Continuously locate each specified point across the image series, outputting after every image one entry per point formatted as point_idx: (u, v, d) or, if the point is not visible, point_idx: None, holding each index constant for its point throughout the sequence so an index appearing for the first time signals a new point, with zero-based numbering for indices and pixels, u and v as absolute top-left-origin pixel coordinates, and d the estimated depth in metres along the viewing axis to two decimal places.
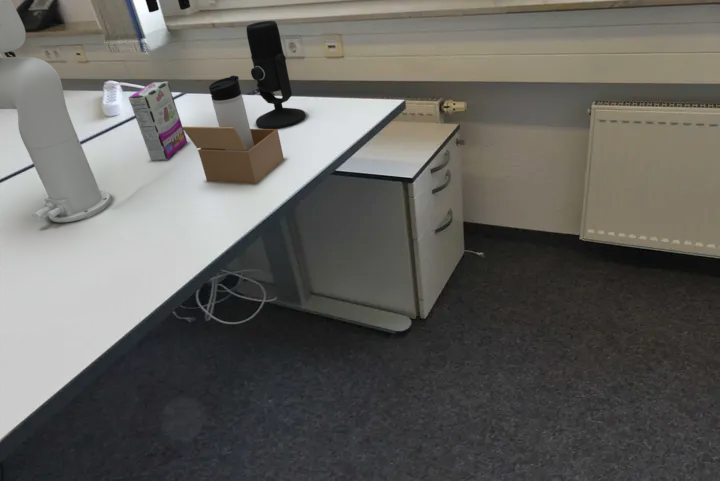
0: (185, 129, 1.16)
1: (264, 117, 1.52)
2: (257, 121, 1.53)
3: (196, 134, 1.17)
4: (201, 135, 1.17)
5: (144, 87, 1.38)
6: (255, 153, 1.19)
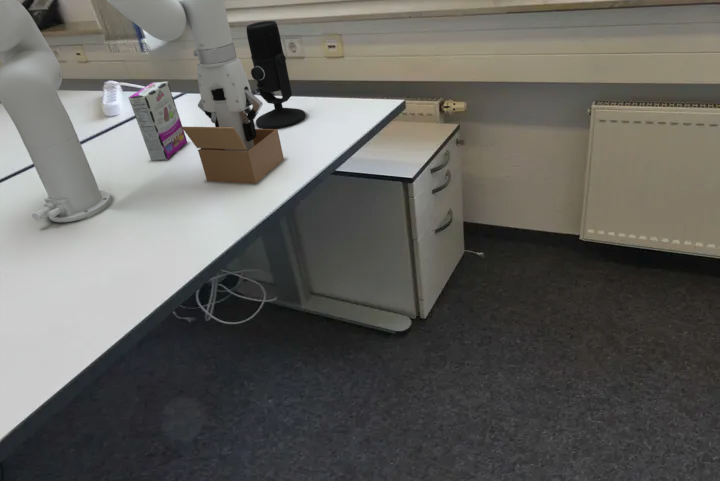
0: (185, 129, 1.16)
1: (264, 117, 1.52)
2: (257, 121, 1.53)
3: (196, 134, 1.17)
4: (201, 135, 1.17)
5: (144, 87, 1.38)
6: (255, 153, 1.19)
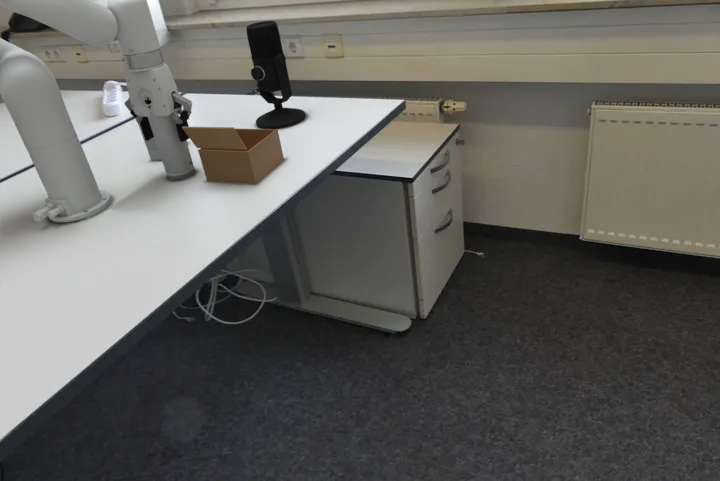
0: (185, 129, 1.16)
1: (264, 117, 1.52)
2: (257, 121, 1.53)
3: (196, 134, 1.17)
4: (201, 135, 1.17)
5: None
6: (255, 153, 1.19)
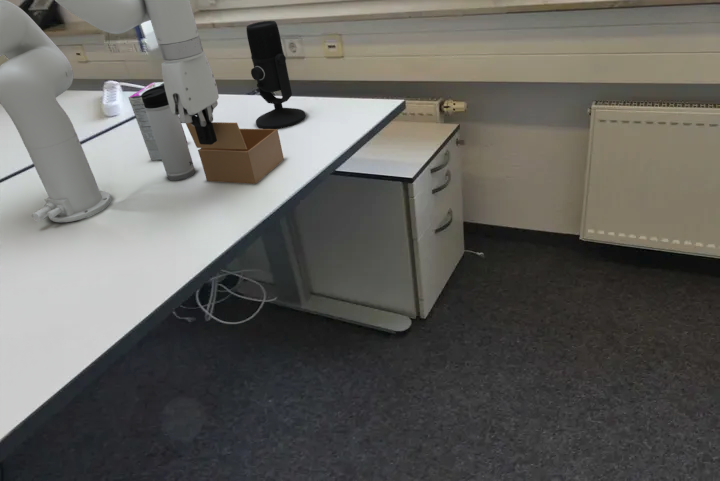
0: (188, 125, 1.17)
1: (264, 117, 1.52)
2: (257, 121, 1.53)
3: None
4: None
5: (144, 87, 1.38)
6: (255, 153, 1.19)
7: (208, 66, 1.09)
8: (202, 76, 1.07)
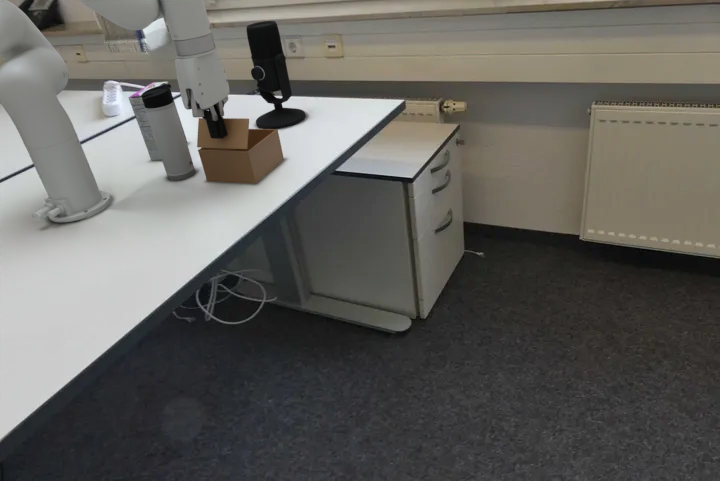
0: (200, 120, 1.20)
1: (264, 117, 1.52)
2: (257, 121, 1.53)
3: (207, 127, 1.20)
4: None
5: (144, 87, 1.38)
6: (255, 153, 1.19)
7: (220, 62, 1.12)
8: (214, 72, 1.10)
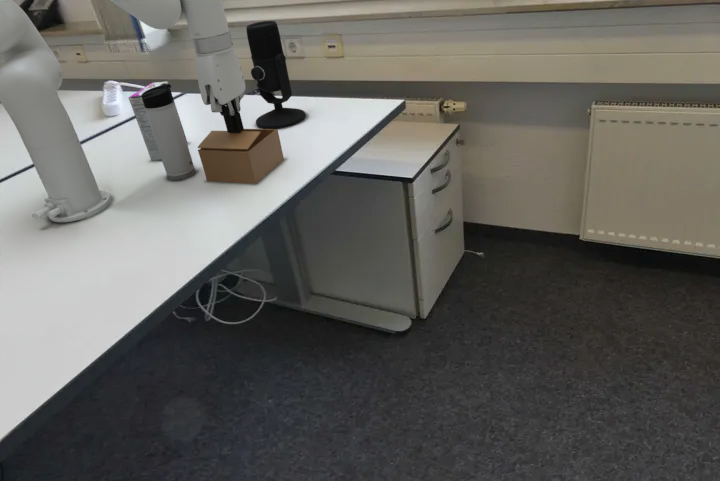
0: (212, 131, 1.24)
1: (264, 117, 1.52)
2: (257, 121, 1.53)
3: (216, 135, 1.23)
4: (219, 136, 1.22)
5: (144, 87, 1.38)
6: (255, 153, 1.19)
7: (236, 59, 1.17)
8: (231, 68, 1.15)
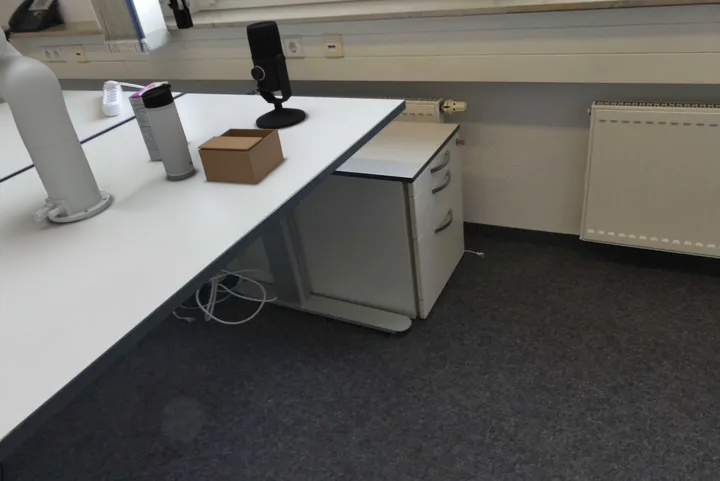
0: (214, 137, 1.25)
1: (264, 117, 1.52)
2: (257, 121, 1.53)
3: (218, 139, 1.23)
4: (221, 140, 1.23)
5: (144, 87, 1.38)
6: (255, 153, 1.19)
7: None
8: None
